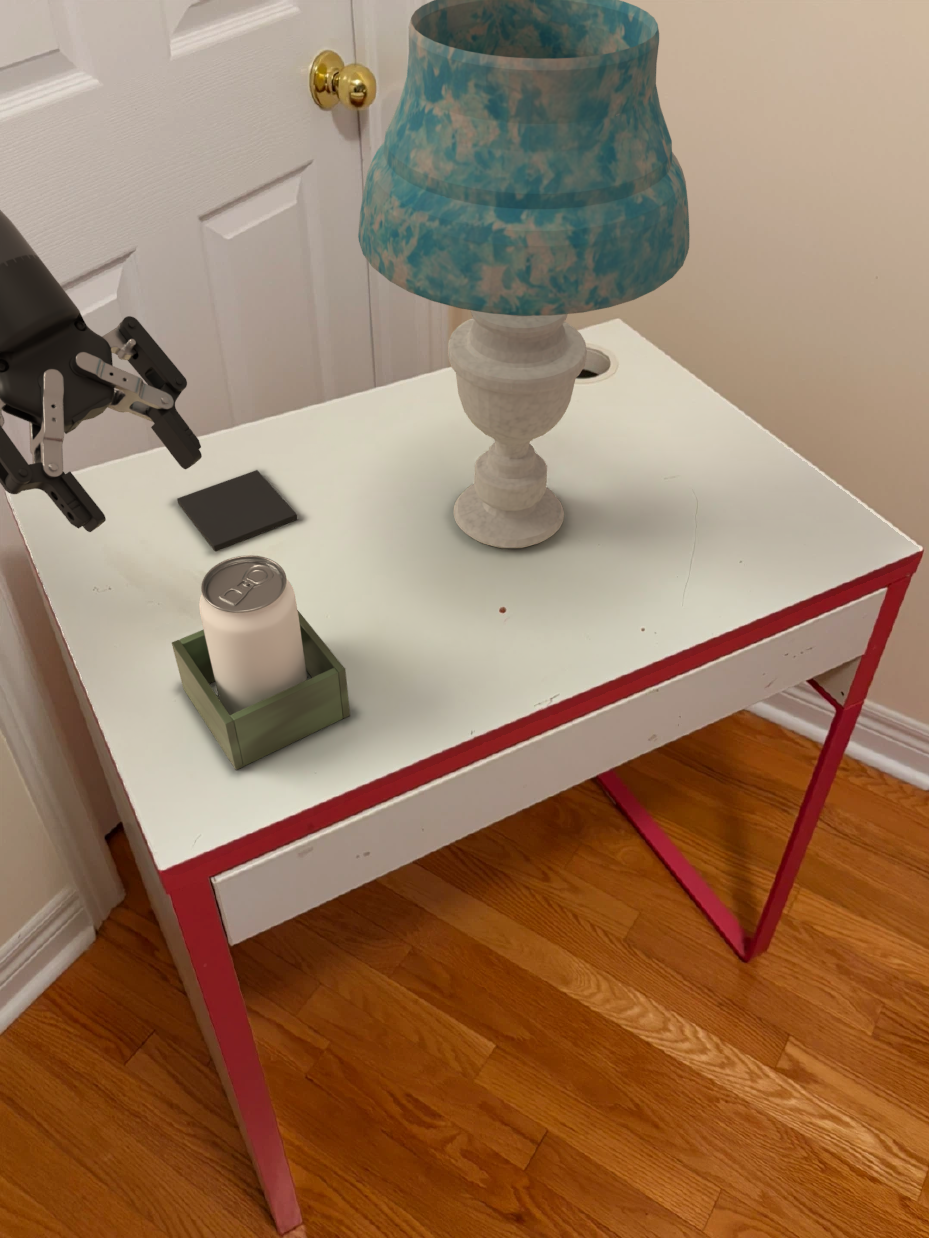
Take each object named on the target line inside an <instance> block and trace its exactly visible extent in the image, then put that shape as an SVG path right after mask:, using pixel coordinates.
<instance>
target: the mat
mask: <svg viewBox="0 0 929 1238" xmlns="http://www.w3.org/2000/svg"><path fill="white" fill-rule="evenodd" d="M176 500H177V504H178V505H179V507H180V508H181V510H182V511H183V512H184V513H185V515H186V516H187V517H188V518H189V520H190V522H192V524H193V525H194V526H195V528H196V529H197V530H198V531H199V533H200V534H201V535H202V537H203V538H204V539H205V541H206V542H207V543H208V544H209V546H210V547H211V548H212V550H213V551H214V552H217V551H218V550H221V549H224V548H226V547H229V546H232V545H234V544H237V543H239V542H242V541H245V540H247V539H250V538H253V537H255V536H257V535H260V534H263V533H266V532H268V531H271V530H273V529H276V528H279V527H281V526H284V525H287V524H289V523H291V522H294V521H296V520H298V514H297V513H296V511H295V510H294V509H292V508H291V506H290V505H289V504H288V503H287V501H286V500H284V498H283V497H282V496H281V495H280V494H279V492H277V490H275V488H274V487H273V486H272V485H271V484H270V483H269V481H268V480H267V479H266V478H265V477H264V476H263V475H262V473H261V472H260V471H259V470H258V469H255V470H253V471H250V472H248V473H243V474H242V475H239V476H236V477H233V478H231V479H228V480H225V481H222V482H220V483H216V484H214V485H211V486H208V487H205V488H202V489H199V490H197V491H194V492H191V493H188V494H185V495H183V496H180V497H177V498H176Z"/></svg>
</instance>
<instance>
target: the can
mask: <svg viewBox="0 0 929 1238" xmlns="http://www.w3.org/2000/svg"><path fill="white" fill-rule="evenodd" d="M198 603H199V605H198V607H199V614H200V620H201V624H202V630H203V629H204V634H205V638H206V642H207V647H208V651H209V656H210V660H211V664H212V669H213V673H214V677H215V681H214V682H215V686H216V689H217V694H218V698H219V700H220V701H221V703H222V704H223V706H224V707H225V709H226V710H227V712H228V713H229V715H232V714H234V713H236V712H238V711H240V710H243V709H245V708H247V707H249V706H251V705H254V704H256V703H258V702H260V701H262V700H265V699H267V698H269V697H271V696H273V695H275V694H278V693H280V692H282V691H284V690H286V689H289V688H291V687H293V686H295V685H297V684H300V683H302V682H304V681H306V680H308V675H307V670H306V667H305V660H304V653H303V645H302V638H301V631H300V624H299V617H298V611H299V609H298V604H297V598H296V594H295V590H294V587H293V585H292V584H291V582H290V581H289V579H288V578H287V574H286V571H285V570H284V568H283V567H282V566H281V565H280V564H279V563H278V562H276V561H274V560H273V559H271V558H268V557H265V556H260V555H254V554H253V555H252V554H251V555H250V554H249V555H237V556H233V557H230V558H228V559H224V560H223V561H220V562H219V563H217V564H215V565H214V566H213V567H211V568H210V569H209V570H208V571H207V573H205V575H204V576H203V579H202V581H201V595H200V598H199V602H198Z"/></svg>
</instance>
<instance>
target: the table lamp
mask: <svg viewBox="0 0 929 1238" xmlns="http://www.w3.org/2000/svg"><path fill="white" fill-rule="evenodd" d="M411 15H412V16H411V17H410V21H409V24H408V58H407V70H406V71H407V72H406V79H405V82H404V85H403V88H402V92H401V94H400V98H399V100H398V103H397V105H396V108H395V110H394V112H393V114H392V117H391V119H390V121H389V123H388V126H387V128H386V130H385V134H384V140H383V142H382V144H381V145H380V146H379V148H377V150H376V152H375V154H374V156H373V158H372V160H371V161H370V166H369V167H368V170H367V174H366V178H365V183H364V188H363V192H362V198H361V205H360V212H359V221H358V222H359V223H358V234H357V238H358V243H359V246H360V249H361V252H362V255H363V257H364V258H365V259H366V261H367V262H368V263H369V264H370V266H371V267H372V268H373V269H374V270H375V271H377V272H378V273H379V274H380V275H381V276H383V277H384V278H385V279H387V280H388V281H389V282H391V283H393V284H394V285H396V286H398V287H399V288H401V289H403V290H405V291H406V292H409V293H411V294H413V295H416V296H418V297H420V298H421V297H422V298H424V299H426V300H429V301H431V302H434V303H437V304H442V305H444V306H445V305H446V306H450V307H453V308H457V309H460V310H461V309H462V310H467V311H470V314H471V318H469V319H467V320H465V321H463V322H462V323H461V324H459V325H458V326H457V327H456V328H455V329H454V330H453V331H452V333H451V334H450V337H449V339H448V341H447V359H448V361H449V364H450V367H451V369H452V370H453V371H454V372H455V378H456V385H457V393H458V397H459V400H460V403H461V407H462V409H463V412H464V413H465V415H466V417H467V418H468V419H469V421H470V422H471V423H472V424H473V425H474V426H475V427H476V428H477V429H478V430H479V431H480V432H482V433H483V434H484V435H485V436H488V437H490V438H492V439H493V441H494V442H493V443H491V445H490V446H489V448H488V450H486V451H485V452H483V453H481V455H480V456H478V458H477V459H476V461H475V463H474V474H473V475H474V477H473V478H474V479H473V484H471V485H469V486H468V487H466V488H465V490H463V491H462V493H460V494H459V496H458V497H457V499H456V500H455V503H454V506H453V517H454V521H455V523H456V524H457V526H458V527H459V529H461V531H462V532H463V533H465V535H467V536H468V537H470V538H472V539H473V540H474V541H477V542H479V543H480V544H482V545H487V546H491V547H494V548H497V549H498V548H499V549H524V548H527V547H530V546H533V545H538V544H541V543H542V542H544V541H546V540H548V539H549V538H550V537H552V536H553V535H556V533H557V532H558V531H559V530H560V529H561V526H562V525H563V523H564V519H565V511H564V510H565V509H564V507H563V505H562V502H561V500H559V498H558V497H557V496H556V494H555V492H553V490H551V489H550V488H549V487H548V486H547V480H548V465H547V463H546V461H545V459H544V458H543V457H542V456H540V455H539V454H538V453H537V452H536V450H535V448H534V447H533V445H532V444H531V442H532V441H533V440H535V439H537V438H540V437H543V436H545V435H546V434H547V433H548V432H550V431H551V430H552V429H554V427H556V426H557V425H558V423H559V422H560V421H561V420H562V419H563V417H564V415H566V412H567V410H568V408H569V406H570V404H571V400H572V395H573V391H574V388H575V383H576V379H577V378H578V377H579V376H580V374H581V372H582V371H583V370H584V367H585V366H586V361H587V356H588V355H587V353H588V349H587V343H586V340H585V339H584V337H583V335H582V333H581V332H580V331H579V330H577V328H576V327H575V326H572V325H571V324H570V323H568V322H567V321H566V320H567V317H568V315H571V314H572V315H573V314H582V313H583V314H584V313H589V312H593V311H598V310H603V309H609V308H612V307H613V308H614V307H616V306H619V305H622V304H625V303H628V302H631V301H632V302H633V301H634V300H637V299H639V298H641V297H643V296H645V295H648V294H650V293H652V292H654V291H656V290H657V289H659V288H660V287H661V286H663V285H664V284H666V283H667V282H669V281H670V280H671V279H673V278H674V277H675V276H676V274H677V273H678V272H679V271H680V270H681V268H682V267H683V266H684V264H685V262H686V259H687V257H688V253H689V250H690V236H691V235H690V215H689V214H690V213H689V212H690V211H689V199H688V191H687V180H686V178H685V175H684V170H683V168H682V165H681V164H680V162H679V160H678V158H677V156H676V155H675V154H674V152H673V141H672V137H671V135H670V132H669V128H668V126H667V122H666V119H665V117H664V113H663V110H662V108H661V102H660V97H659V91H658V88H657V63H658V55H659V47H660V46H659V45H660V29H659V24H658V22H657V20H656V18H655V17H654V16H652V14H650V13H649V12H648V11H647V10H644V9H643V8H641V7H639V6H637V5H634V4H631V3H629V2H627V1H623V0H431V1H429V2H427V3H425V4H423V5H421V6H420V7H418V8H417V9H416V10H415V11H414V12H413V14H411Z"/></svg>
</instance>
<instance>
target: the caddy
mask: <svg viewBox="0 0 929 1238" xmlns="http://www.w3.org/2000/svg"><path fill="white" fill-rule="evenodd" d="M298 617H299V624H300V631H301V638H302V645H303V653H304V660H305V667H306V673H308V675H310V677H311V678H309V679H308V678H307V680H306V681H304V682H302V683H300V684H297V685H295V686H293V687H291V688H289V689H286V690H284V691H282V692H280V693H278V694H275V695H273V696H271V697H269V698H267V699H265V700H262V701H260V702H258V703H256V704H254V705H251V706H249V707H247V708H245V709H243V710H240V711H238V712H236V713H234V714H232V715H229V713H228V712H227V710H226V709H225V707H224V706H223V704H222V703H221V701H220V698H219V696H218V695H217V694H216V692H215V691H214V690H213V688H212V686H211V685H210V684H212V683H214V682H215V677H214V673H213V669H212V664H211V660H210V656H209V651H208V647H207V642H206V638H205V634H204V629H203V628H202V630H198V631H197V632H193V633H191V634H189V635H186V636H184V637H182V638H180V639H177V640H174V641H172V642H171V647H172V650H173V654H174V658H175V662H176V666H177V670H178V674H179V677H180V681H181V685H182V689H183V690H184V692H185V694H186V695H187V697H188V698H189V700H190V701H191V703H192V704H193V706H194V707H195V710H196V711H197V712H198V714H199V716H200V718H202V720H203V721H204V724H205V725H206V726H207V728H208V730H209V731H210V732H211V734H212V736H213V737H214V739H215V741H216V742H217V743H218V745H219V746H220V748H221V749H222V751H223V753H224V754H225V756H226V757H227V759H228V760H229V762H230V763H231V766H232V767H233V768H234V770H236V771H237V770H239V769H241V768H243V767H245V766H247V765H250V764H251V763H254V762H256V761H258V760H261V759H262V758H264V757H266V756H268V755H270V754H272V753H274V752H277V751H279V750H281V749H282V748H285V747H287V746H289V745H291V744H293V743H295V742H297V741H299V740H301V739H304V738H306V737H308V736H311V735H312V734H315V733H316V732H318V731H320V730H322V729H325V728H327V727H328V726H331V725H332V724H335V723H337V722H339V721H341V720H343V719H346V718H347V717H350V716H351V712H350V701H349V691H348V682H347V681H348V680H347V672H346V668H345V666H344V665H343V664H342V663H341V662H340V660H339V659H338V658H337V656H336V655H335V654H334V653H333V652H332V651H331V649H330V648H329V647H328V646H327V644H326V643H325V642H324V640H323V639H322V638H321V637H320V635H319V634H318V632H316V631H315V629H314V628H313V627H312V626H311V624H310V623H309V622H308V621H307V620H306V618H305V617H304V616H303V614H302V613H301V612H300V611H299V610H298Z"/></svg>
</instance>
